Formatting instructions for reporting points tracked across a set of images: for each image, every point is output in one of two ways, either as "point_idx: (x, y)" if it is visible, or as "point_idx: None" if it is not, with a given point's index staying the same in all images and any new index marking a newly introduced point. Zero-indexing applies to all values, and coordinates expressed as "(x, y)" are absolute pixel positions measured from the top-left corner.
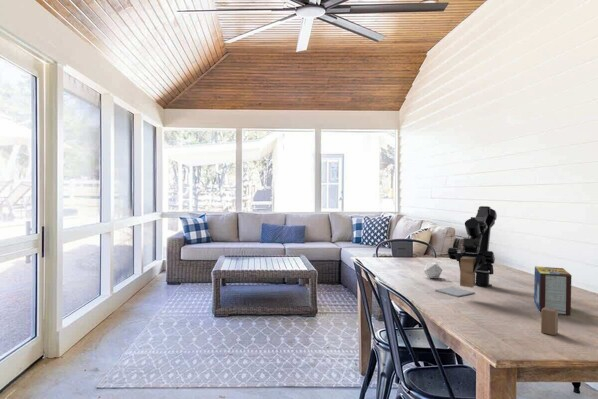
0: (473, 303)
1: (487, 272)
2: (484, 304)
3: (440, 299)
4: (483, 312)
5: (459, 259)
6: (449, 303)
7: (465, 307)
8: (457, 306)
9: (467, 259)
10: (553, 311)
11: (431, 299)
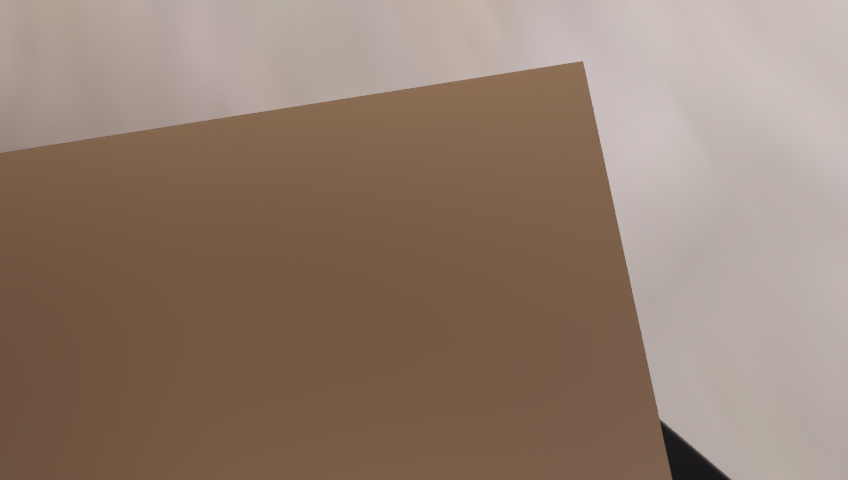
0: None
1: None
2: None
3: (693, 150)
4: (59, 6)
5: None
6: (505, 58)
7: (283, 41)
8: (372, 10)
9: (35, 170)
10: None
11: (777, 58)
